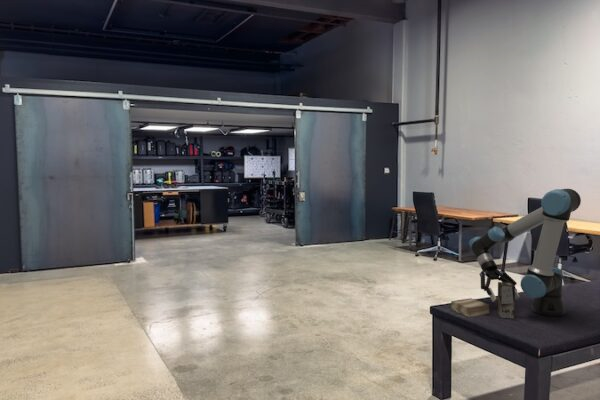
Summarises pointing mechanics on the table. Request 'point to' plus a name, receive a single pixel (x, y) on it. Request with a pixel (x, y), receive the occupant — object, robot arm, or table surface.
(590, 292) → the table surface
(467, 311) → the birch block
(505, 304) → the coffee box
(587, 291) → the table surface
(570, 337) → the table surface
